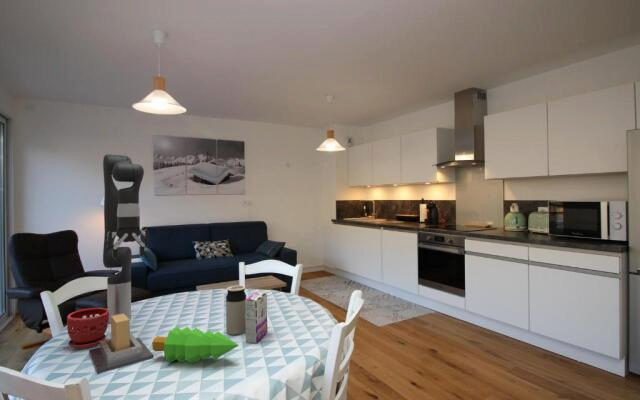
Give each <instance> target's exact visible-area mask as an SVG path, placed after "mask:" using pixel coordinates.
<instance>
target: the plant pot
mask: <svg viewBox="0 0 640 400" xmlns="http://www.w3.org/2000/svg"><path fill="white" fill-rule="evenodd" d="M83 317H84V318H83ZM108 321H109V310H108V308H105V307H104V308H103V307H93V308H92V307H91V308H84V309H78V310H76V311H74V312H71V313H69V314H68V315H67V318H66V328H67V334H68V337H69V339H70V340H69V341H68V346H69V347H70V348H72V349H77V350H82V349H89V348H93V347H96V346H98V345H100V341H103V340H106V338H107V335H106V331H108V330H107V329H108V326H109V323H108Z"/></svg>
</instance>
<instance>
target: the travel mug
mask: <svg viewBox="0 0 640 400" xmlns="http://www.w3.org/2000/svg"><path fill="white" fill-rule="evenodd" d="M226 290H227V294H226V296H225V307H226V308H225V309H226V310H225V313H226V314H225V316H226V317H225V318H226V320H225V321H226V322H225V325H226V327H225V329H226V330H225V331H226V334H228V335H231V336H237V335H242V334H244V333H246V324H245V300H246V299H247V294H246V292H245V290H246V286H244V285H229V286H228V287H227V288H226Z"/></svg>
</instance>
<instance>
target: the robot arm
mask: <svg viewBox="0 0 640 400" xmlns="http://www.w3.org/2000/svg"><path fill="white" fill-rule="evenodd" d="M102 171H103V183H104V184H103V185H104V188H103V189H104V198H103V199H104V202H103V219H104V220H103V221H104V233H103V234H104V235H103V236H104V238H103V240H104V241H103V250H102V252H103V253H102V263H103V266H104V267H105V268H107V269H115V268H117V269H118V268H121V270H120V271H119V272H117V273H115V274H112V275H109V276H108V277H107V280H106V281H107V283H106V284H107V291H106V292H107V296H106V297H107V303H106V304H107V308H106V309H108V310H109V321H108V324H111V316H114V315H119V314H125V315H126V316H127V317H128V319H129V320H130V321H131V319H132V259H133V257H132V256H133V255H132V254H133V253H132V249H131V248H130V247H129V246H120V245H122V243H129V242H131V243H133V242H136V244H138V245H139V251H138V252H139V257H141V258H142V257H144V255H145V254H146V253H145V247H147V246H149V245H151V239H150V230H148V229H144V230H143V229H142V230H141V227H140V226H141V217H140V216H141V212H140V196H139V195H140V188H141V184H142V181H143V179H144V174H145V169H144V167H143V166H142V165H141V164H137V163H133V161H132V159H131V158H130V157H129V156H127V155H120V154H105V155H104V156H103V161H102ZM113 179H114V180H113ZM114 181H116V182H118V183H124V182H125V183H132V185H131V186H129V187H124V188H123V187H122V188H119V189H118V188H117V186H116V184H115V182H114ZM141 235H142V236H144V242H143V241H142V240H141V238H140V236H141ZM116 237H117V238H118V239H117V240H116ZM115 240H116V241H115Z"/></svg>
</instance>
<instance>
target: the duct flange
mask: <svg viewBox="0 0 640 400" xmlns="http://www.w3.org/2000/svg"><path fill="white" fill-rule="evenodd" d="M88 354H89V356H90V358H91V361H92V363H93V366H94V369H95V372H96V373H97V375H99V374H102V373H105V372H109V371H112V370H116V369H120V368H123V367H126V366H130V365H133V364H136V363H137V364H138V363H141V362H144V361H147V360H151V359H154V354H153V353H152V351H151V350H150V349H149V348H148V346H146V343H144V342H143V341H142V339H141V338H140V337H135V336H134V335H133V334H132V333H130V348H127V349H123V350H119V351H115V352H112V350H111V338H109V339H105V340H103V341H100V344H99V347H96V348H91V349H88Z"/></svg>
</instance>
